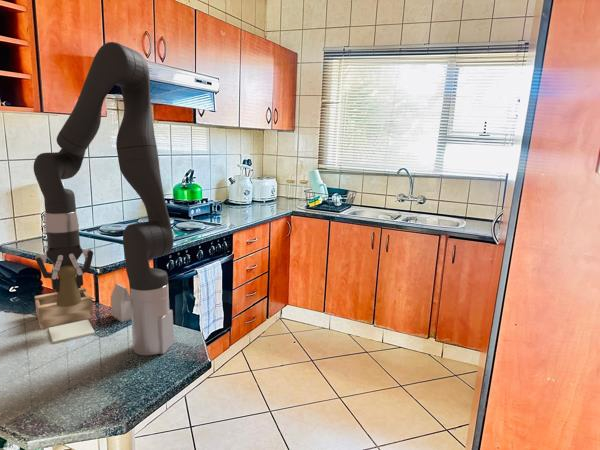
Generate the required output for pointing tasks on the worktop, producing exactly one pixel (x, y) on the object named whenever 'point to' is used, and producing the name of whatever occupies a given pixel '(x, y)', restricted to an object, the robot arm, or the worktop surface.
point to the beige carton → (121, 303)
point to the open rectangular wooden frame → (62, 310)
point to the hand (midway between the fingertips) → (68, 289)
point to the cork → (68, 287)
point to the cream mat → (71, 331)
